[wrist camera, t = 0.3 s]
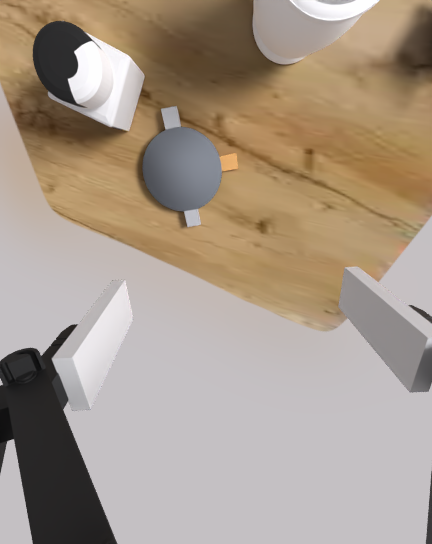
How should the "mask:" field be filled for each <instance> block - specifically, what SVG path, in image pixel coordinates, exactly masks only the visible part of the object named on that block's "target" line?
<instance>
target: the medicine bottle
mask: <svg viewBox="0 0 432 544" xmlns="http://www.w3.org/2000/svg"><path fill="white" fill-rule="evenodd" d="M33 61H34V66H35V69H36V72H37V75H38V77H39V79H40V80H41V82H42V84H43V85H44V86H45V88H46V89H47V90H48V96H49V97H50V98H51V99H52V100H55V101H57V102H59V103H61V104H63V105H65V106H67V107H69V108H71V109H73V110H75V111H77V112H80V113H82V114H84V115H86V116H88V117H90V118H92V119H94V120H96V121H98V122H100V123H102V124H105V125H107V126H109V127H112V128H115V129H119V130H122V131H126V132H128V131H129V130H130V126H131V123H132V120H133V116H134V113H135V109H136V106H137V102H138V99H139V95H140V92H141V89H142V85H143V82H144V78H145V75H144V73H143V72H142V71H141V70H140V69H139V67H138V66H137V65H136V64H135V62H134V61H133V60H132V59H131V58H130V56H128V55H127V54H125V53H123V52H121V51H119V50H118V49H116V48H114V47H112V46H110V45H108V44H106V43H104V42H103V41H101V40H99V39H97V38H95V37H93V36H91V35H90V34H88V33H86V32H84V31H83V30H82V29H81V28H79V27H77V26H76V25H74V24H72V23H69V22H65V21H55V22H51V23H49V24H47V25H45V26H44V27H43V28H42V29H41V30H40V31H39V33H38V34H37V36H36V38H35V41H34V45H33Z"/></svg>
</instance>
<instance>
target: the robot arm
mask: <svg viewBox="0 0 432 544" xmlns="http://www.w3.org/2000/svg"><path fill="white" fill-rule="evenodd" d="M339 308H340V309H341V311H342V312H343V313H344V314H345V315H346V317H347V318H348V319H349V320H350V321H351V323H352V324H353V325H354V326H355V327H356V329H357V330H358V331H359V332H360V333H361V335H362V336H363V337H364V338H365V339H366V340H367V342H368V343H369V344H370V345H371V347H372V348H373V349H374V350H375V351H376V353H377V354H378V355H379V356H380V357H381V359H382V360H383V361H384V362H385V363H386V365H387V366H388V367H389V368H390V369H391V370H392V372H393V373H394V374H395V375H396V377H397V378H398V379H399V380H400V381H401V382H402V384H403V385H404V386H405V387H406V388H407V390H408V391H409V392H427V391H429V389H430V386H431V383H432V317H431V316H430V315H429V314H427V313H426V312H424V311H423V310H421V309H419V308H416V307H414V306H412V305H407V304H406V303H404V302H403V301H402V300H400V299H399V298H398V297H397V296H395V295H394V294H393V293H391V292H390V291H389V290H387V289H386V288H385V287H384V286H382V285H381V284H380V283H378V282H377V281H376V280H374V279H373V278H372V277H371V276H369V275H368V274H367V273H365V272H364V271H363V270H361V269H360V268H359V267H345V269H344V275H343V282H342V288H341V294H340V301H339ZM132 320H133V316H132V310H131V306H130V301H129V296H128V291H127V287H126V282H125V280H112V281H111V283H110V284H109V285H108V287H107V288H106V289H105V291H104V292H103V293H102V294H101V296H100V297H99V298H98V300H97V301H96V302H95V303H94V305H93V306H92V307H91V309H90V310H89V311H88V312H87V314H86V315H85V316H84V318H83V319H82V320H81V321H80V323H79V324H77V325H71V326H69V327H68V328H66V329H65V330H64V331H62V332H61V333H60V335H59V336H58V337H57V338H56V340H55V341H54V342H53V343H52V344H51V346H50V347H49V348H48V349H47V350H46V351H45V353H44V354H43V355H42V356H41V355H40V353H39V351H38V350H37V349H34V348H26V349H21V350H18V351H15V352H13V353H11V354H9V355H7V356H6V357H5V358H3V359H2V360H1V361H0V378H1V381H2V383H3V385H1V386H0V472H1V467H2V463H3V458H4V453H5V449H6V444H7V441H9V440H12V439H14V441H15V447H16V452H17V457H18V463H19V469H20V474H21V479H22V486H23V491H24V496H25V502H26V507H27V513H28V519H29V524H30V530H31V535H32V540H33V544H117V542H116V540H115V537H114V534H113V532H112V530H111V527H110V525H109V522H108V520H107V518H106V515H105V512H104V510H103V507H102V505H101V502H100V500H99V498H98V495H97V492H96V490H95V488H94V485H93V483H92V480H91V478H90V475H89V473H88V470H87V468H86V465H85V463H84V460H83V458H82V455H81V453H80V450H79V448H78V446H77V443H76V441H75V438H74V436H73V433H72V431H71V428H70V426H69V423H68V421H67V419H66V416H65V414H64V411H63V409H64V407H65V405H66V404H67V402H69V404H70V407H71V409H72V411H77V410H91V408H92V406H93V404H94V401H95V399H96V397H97V395H98V393H99V391H100V389H101V387H102V384H103V382H104V380H105V378H106V376H107V374H108V371H109V369H110V367H111V365H112V363H113V361H114V358H115V357H116V354H117V352H118V350H119V348H120V346H121V344H122V342H123V339H124V337H125V335H126V333H127V331H128V329H129V327H130V324H131V322H132ZM426 544H432V473H431V486H430V499H429V512H428V524H427V538H426Z"/></svg>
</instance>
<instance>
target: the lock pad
mask: <svg viewBox="0 0 432 544" xmlns="http://www.w3.org/2000/svg"><path fill="white" fill-rule="evenodd" d="M161 112H162V116H163V120H164V125H165V129H166V130H165V131H163V132H161V133H159V134H158V135H157V136H156V137H155V138H154V139H153V140H152V141H151V142H150V144H149V145H148V147H147V149H146V151H145V154H144V158H143V176H144V180H145V183H146V185H147V188H148V190H149V191H150V193H151V194H152V195H153V197H154V198H155V199H156V200H157V201H158V202H160V203H161V204H162V205H164V206H166V207H168V208H170V209H173V210H176V211H184V213H185V218H186V222H187V227H190V226H196V225H201V221H200V216H199V211H198V208H200V207H202V206H204V205H205V204H207V203H208V202H209V201H210V200H211V199H212V198H213V196H214V195H215V194H216V192H217V190H218V188H219V185H220V182H221V176H222V171H227V170H233V169H238V163H237V156H236V153H234V154H229V155H224V156H219V154H218V152H217V150H216V148H215V147H214V145H213V144H212V142H211V141H210V140H209V139H208V138H207V137H206V136H204V135H203V134H201V133H200V132H198V131H196V130H194V129H191V128H186V127H181V123H180V119H179V114H178V109H177V106H174V107H169V108H164V109H161Z"/></svg>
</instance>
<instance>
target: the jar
mask: <svg viewBox="0 0 432 544" xmlns="http://www.w3.org/2000/svg"><path fill="white" fill-rule="evenodd" d="M379 1H380V0H254V2H253V6H254V13H253V33H254V38H255V41H256V43H257V46H258V47H259V49H260V51H261V52H262V53H263V54H264V56H266V57H267V58H268V59H269V60H271V61H273V62H275V63H278V64H292V63H295V62H298V61H300V60H302V59H303V58H305V57H306V56H308V55H310V54H312V53H314V52H317V51H319V50H321V49H323V48H325V47H327V46H329V45H330V44H332V43H333V42H335V41H336V40H337V39H339V38H340V37H341V36H342V35H343V34H344V33H346V32H347V31H348V30H349V29H350V28H351V27H352V26H353V25H354V24H355V22H356V21H357V20H358V19H359V18H360V17H361V15H362V14H364V13H365V12H367V11H368V10H369V9H371V8H372V7H373V6H374V5H375V4H377V3H378V2H379Z"/></svg>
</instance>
